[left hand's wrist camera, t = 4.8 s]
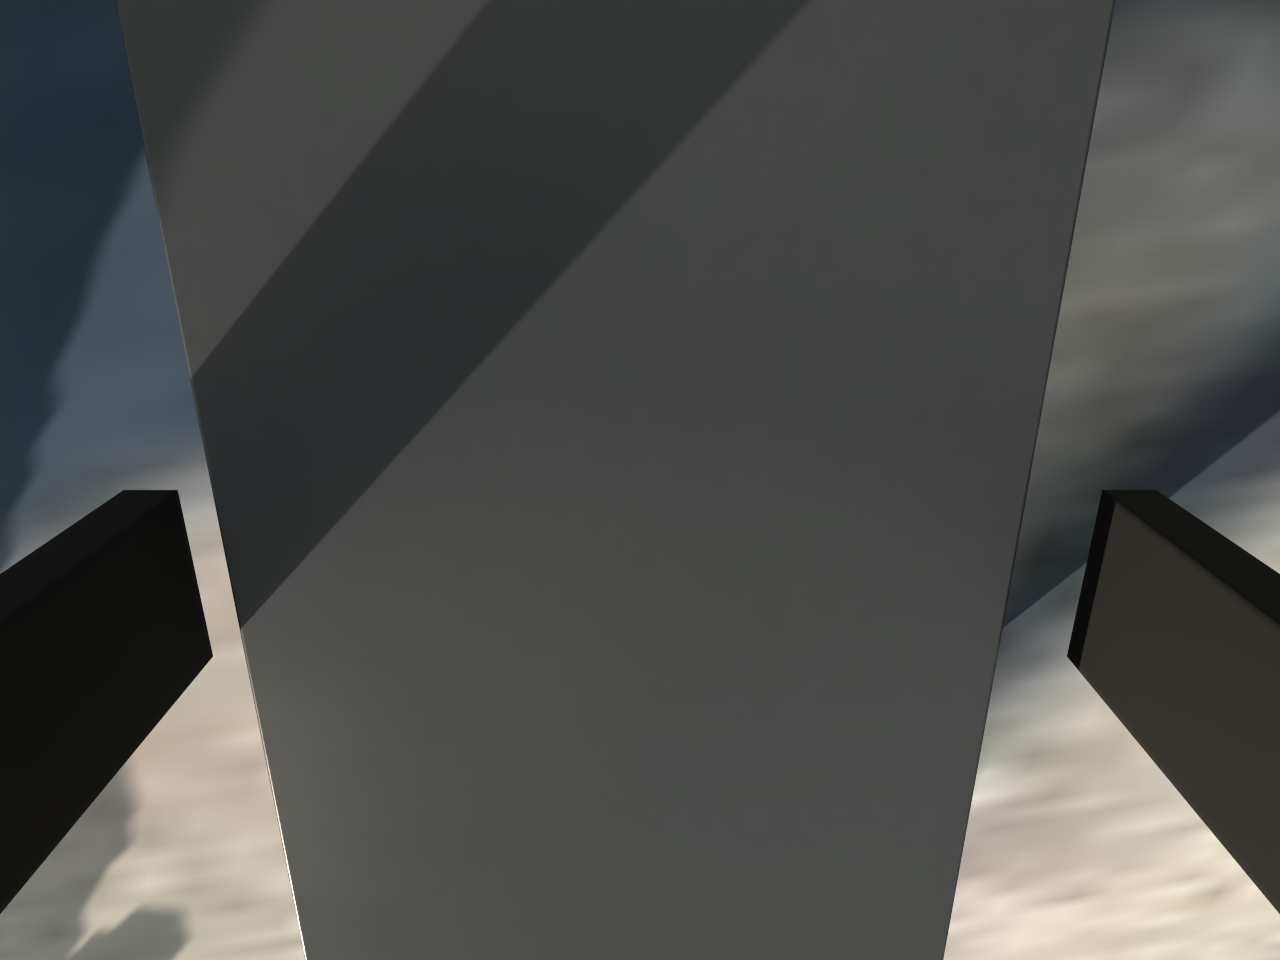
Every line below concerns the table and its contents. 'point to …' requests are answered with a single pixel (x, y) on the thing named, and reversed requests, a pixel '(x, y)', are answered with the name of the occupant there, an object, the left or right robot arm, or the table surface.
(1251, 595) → the left robot arm
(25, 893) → the table surface
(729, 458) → the thick board
